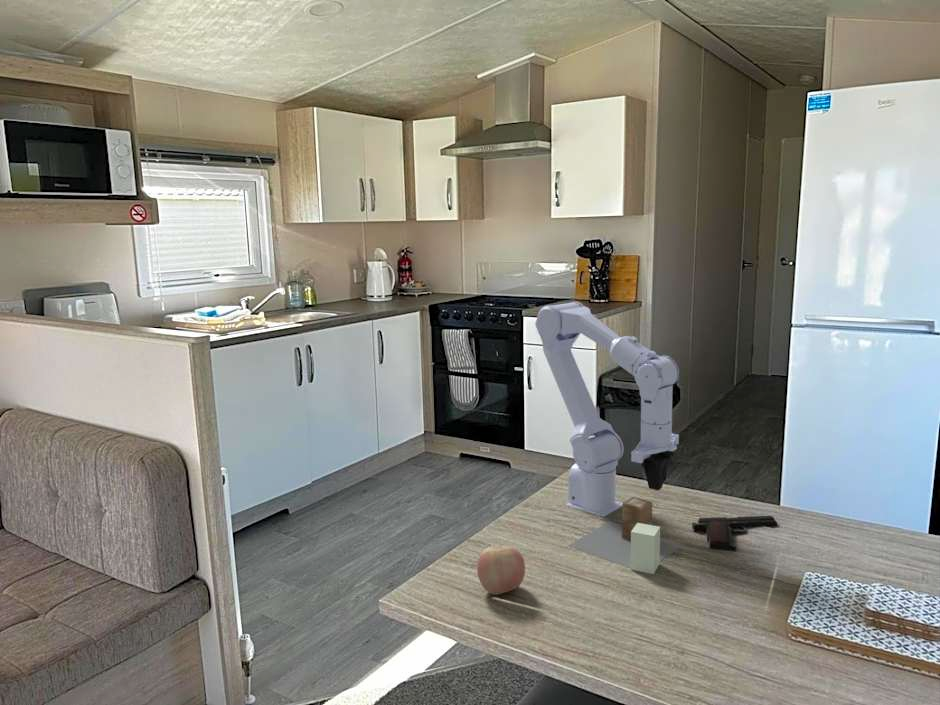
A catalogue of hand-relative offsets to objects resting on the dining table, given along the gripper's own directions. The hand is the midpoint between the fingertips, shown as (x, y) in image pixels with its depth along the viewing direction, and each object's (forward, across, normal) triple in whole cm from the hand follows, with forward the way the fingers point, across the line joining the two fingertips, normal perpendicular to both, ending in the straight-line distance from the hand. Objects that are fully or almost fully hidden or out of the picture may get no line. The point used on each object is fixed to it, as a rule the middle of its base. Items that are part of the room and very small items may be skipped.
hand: (655, 488), depth 140 cm
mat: (+8, -10, 0) cm, 13 cm away
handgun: (+9, +7, -14) cm, 19 cm away
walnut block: (+8, -6, 0) cm, 10 cm away
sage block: (+8, -16, -7) cm, 19 cm away
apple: (+8, -38, +7) cm, 39 cm away
